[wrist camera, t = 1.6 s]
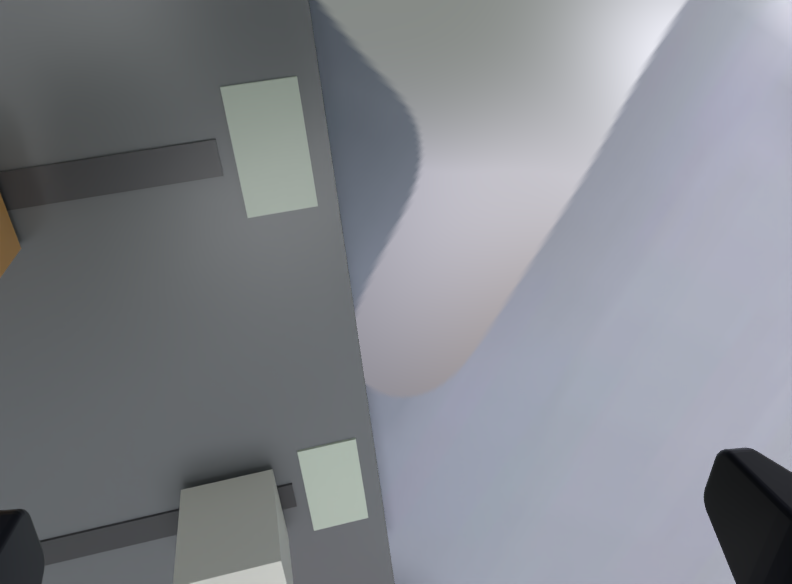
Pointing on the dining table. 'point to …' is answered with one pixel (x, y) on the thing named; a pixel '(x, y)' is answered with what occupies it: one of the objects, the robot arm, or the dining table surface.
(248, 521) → the lever
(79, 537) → the grey flat rectangular board
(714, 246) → the dining table surface
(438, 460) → the dining table surface
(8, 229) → the lever
